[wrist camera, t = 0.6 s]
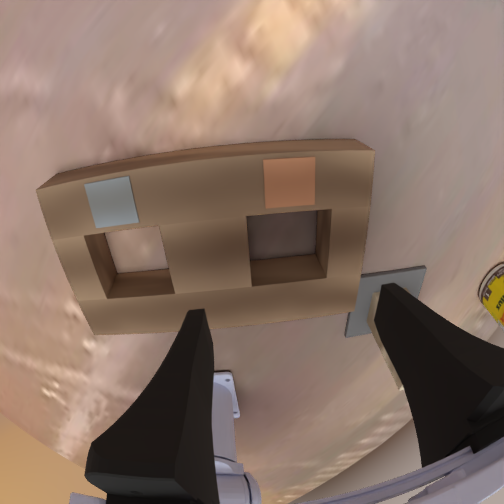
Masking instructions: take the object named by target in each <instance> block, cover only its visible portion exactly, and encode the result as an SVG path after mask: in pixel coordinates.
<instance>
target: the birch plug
mask: <svg viewBox="0 0 504 504" xmlns="http://www.w3.org/2000/svg"><path fill="white" fill-rule="evenodd" d="M403 289H404V290H406V291H407V292H409V291H408V289H407V288H406V287H405V288H403ZM409 293H410V292H409ZM379 295H380V292H376V293H373V295H372V300H371V304H370V308H369V313H368V317H367V321H366V322H367V324H368V326H369V328H370V330H371V332H372V334H373V336H374V338H375V340H376V342H377V344H378V346H379V348H380V350H381V352H382V354H383V357H384V359H385V361H386V363H387V365H388V367H389V369H390V371H391V374H392V376H393V378H394V380H395V382H396V385H397V387H398V389H399V391H400V390H404V388H403V385H402V383H401V380H400V378H399V376H398V374H397V372H396V370H395V368H394V366H393V364H392V362H391V360H390V358H389V356H388V354H387V352H386V350H385V348H384V346H383V344H382V342H381V340H380V337H379V334H378V331H377V328H376V325H375V323H374V317H375V313H376V309H377V304H378V300H379Z"/></svg>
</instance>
